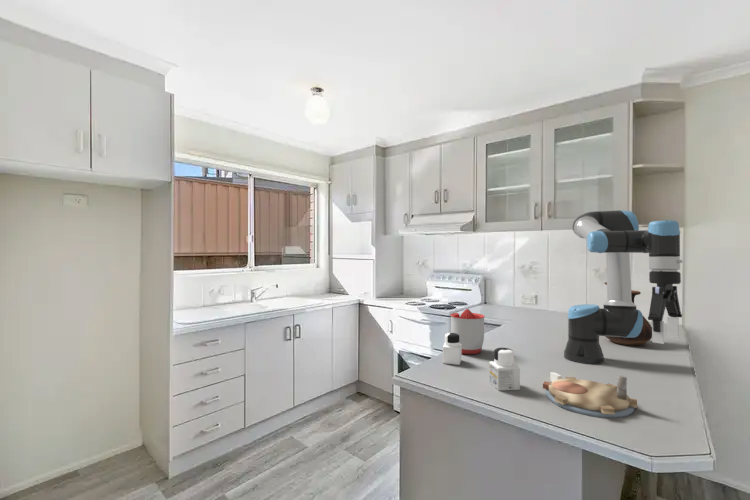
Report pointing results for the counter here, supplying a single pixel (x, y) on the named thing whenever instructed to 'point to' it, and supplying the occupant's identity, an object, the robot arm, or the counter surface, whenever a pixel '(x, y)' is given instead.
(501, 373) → the container
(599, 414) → the wheel base
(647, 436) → the counter surface
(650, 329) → the jug
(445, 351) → the medicine bottle
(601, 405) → the index wheel
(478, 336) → the citrus juicer
